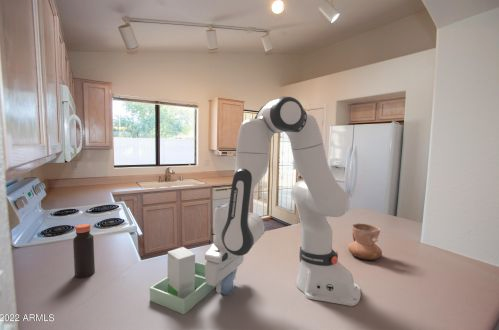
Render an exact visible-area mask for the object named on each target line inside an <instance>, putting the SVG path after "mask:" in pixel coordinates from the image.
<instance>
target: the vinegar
mask: <svg viewBox="0 0 499 330" xmlns="http://www.w3.org/2000/svg"><path fill="white" fill-rule="evenodd" d="M90 232H91V224H90V223H82V224H77V225H75V234H76V236H75V237H74V238H73V240H72V243H73V262H74V263H73V265H74V267H73V268H74V277H75V278H77V279H79V278H80V279H82V278H87V277H89V276H92V275H93V274H94V273H95V271H96V270H95V269H96V268H95V266H96V265H95V245H94V244H95V243H94V240H95V239H94V235H93V234H91V233H90Z"/></svg>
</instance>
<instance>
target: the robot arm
mask: <svg viewBox="0 0 499 330" xmlns="http://www.w3.org/2000/svg"><path fill="white" fill-rule="evenodd" d="M281 133H285V134H286V135H287V138H288V139H289V144H290V148H291V151H292V152H291V153H292V157H293V161H294V166H295V170H296V171H297V173H298V174H299V175H300V176H301V178H302V180H300V181H297V182H295V183H294V184H293V186H292V187H291V191H290V196H291V198H292V200H293V202H294V204H295V206H296V209H297V212H298V217H299V222H300V229H301V233H300V234H301V235H300V237H301V241H300V242H301V245H300V247H299V262H300V263H299V270H298V275H297V278H296V281H295V285H296V287H297V288H298V289H299V290H300V291H301V292H302V293H303V294H304V295H305V297H306V298H307V299H309V300H315V301H320V302H321V301H322V302H326V303H333V304H339V305H344V306H349V307H353V306H356V305H357V304H359V302H360V300H361V296H362V295H361V288H360V286H359V285H358V284H357V282H355V281H354V277H353V275H352V272H351V271H350V270H349V269H348V268H347V267H346V266H344V265H343V264H342V263H341V262H340V261H339V254H338V251H334V249H333V234H334V233H333V229H332V228H333V227H332V225H330V222H329V221H328V220H327V219H328V218H327V217H329V218H339V217H343V216H344V215H345V214H346V212H347V211H348V210H349V207H350V197H349V195H348V193H347V192H346V191H345V189H344V188H342V186H341V185H340V184H339V183H338V180H336V178H335V176H334V174H333V172H332V170H331V168H330V165H329V163H328V160H327V159H328V158H327V155H326V150H325V146H324V141H323V137H322V133H321V130H320V127H319V124H318V121H317V118H316V117H315V116H314V115H312V114H308V113H307V111H305V109H304V107H303V105H302V104H301V102H300V101H299V100H298V99H296V98H294V97H292V96H280V97H278V98H276V99H272V100H270V101H268V103H267V104H264V105H263V106H261V107H260V109H259V110H258V112H257V114H256V115H255V117H254V118H248V119H246V120H244V121H242V123H241V124H240V126H239V130H238V135H237V140H236V154H235V165H234V173H233V177H232V181H231V182H232V183H231V188H230V196H229V197H230V198H229V202H225V203H221V204H219V205H217V206H216V207H215V209H214V214H213V231H214V237H213V243H212V244H211V247H210V248H209V249H208V250H207V251H206V252H205V254H204V260H205V261H206V262H205V263H204V264H205V282H206V283H207V284H208V285H211V286H216V287H215V288H216V290H215V291H216V292H217V293H219V294H221V293H220V292H221V291H222V290H223V286H222V285H221V284H220V283H221V281H222V280H223V279H224V278H225V277H226V276H228V275H229V274H230V273H231V272H233V274H234V280H236V274H237V271H238V267H240V266H241V265H242V264H243V262H244V258H245V257H244V256H245V255H246V254H248V253H249V252H250V250H251V249H252V248H253V246H254V245H255V244H256V243H257V242H258V241H259V240H260V239H261V238H262V237H263V235H264V234H265V233H266V231H265V230H266V226H265V225H266V224H265V221H264V220H263V218H262V217H261V216H260V215H259V214H257V213H254V212H250V208H251V202H252V201H251V199H252V195H253V192H254V190H255V188H256V187H257V185H258V183H260V181H261V180H262V179H263V177H265V175H266V174H267V171H268V168H269V162H270V152H271V147H270V143H271V141H272V137H274V135H275V134H281Z"/></svg>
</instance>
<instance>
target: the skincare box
mask: <svg viewBox="0 0 499 330" xmlns="http://www.w3.org/2000/svg"><path fill="white" fill-rule="evenodd" d="M195 261H196V254H195V253H194V252H192V251H191V250H190V249H187V248H186V247H184V246H181V247H178V248H175V249H172V250H169V251H167V277H168V280H167V291H166V292H167V293H169V294H172V295H175V296H177V297H180V298H183V299H184V298H186V297H187V296H188V295H189V294H191V293H192V292H193V291H194V290H196V289H195Z"/></svg>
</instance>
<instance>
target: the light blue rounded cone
mask: <svg viewBox="0 0 499 330" xmlns="http://www.w3.org/2000/svg"><path fill="white" fill-rule="evenodd" d="M234 281H235V279H234V274H233V272H231V273H230V274H229V275H228V276H226V277H225V278H224V279H223V280H222V281H221V283H220V284H221V285H222V286H223V290H222V291H221V292H220V293H219V294H221V295H230V294H232V293H233V292H234V290H235V288H234V286H235V285H234Z"/></svg>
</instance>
